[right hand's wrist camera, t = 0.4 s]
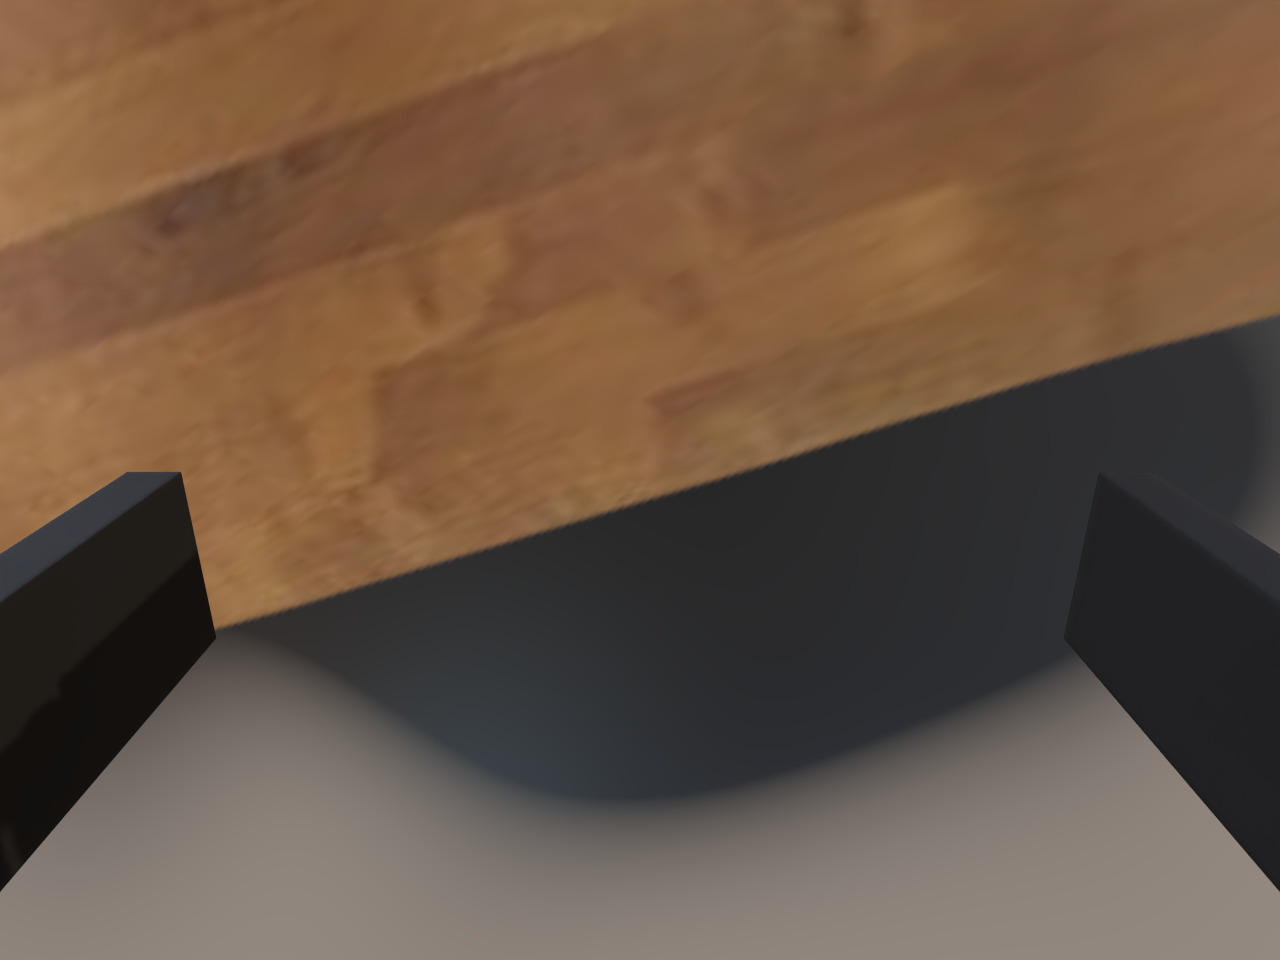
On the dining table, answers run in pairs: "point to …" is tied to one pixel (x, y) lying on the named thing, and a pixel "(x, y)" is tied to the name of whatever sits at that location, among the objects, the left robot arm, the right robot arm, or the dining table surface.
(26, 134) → the dining table surface
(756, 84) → the dining table surface
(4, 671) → the right robot arm
